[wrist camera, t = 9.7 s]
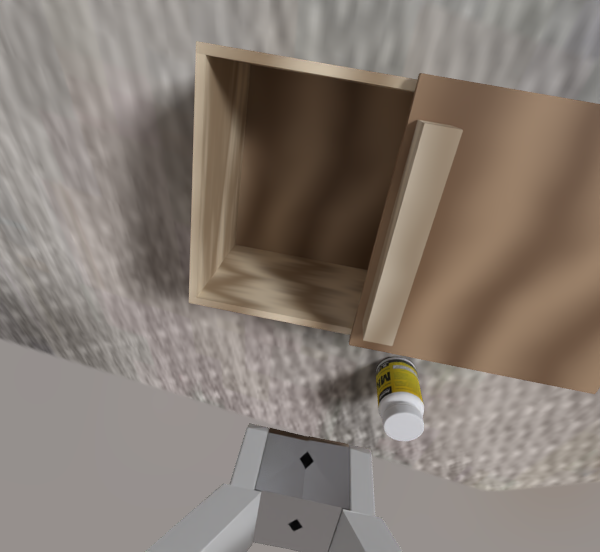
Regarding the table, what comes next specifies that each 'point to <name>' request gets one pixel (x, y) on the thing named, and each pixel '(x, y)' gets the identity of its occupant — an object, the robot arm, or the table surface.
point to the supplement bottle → (399, 399)
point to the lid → (491, 237)
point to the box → (289, 183)
